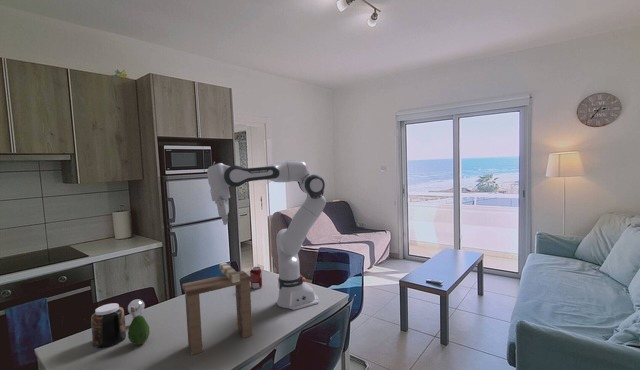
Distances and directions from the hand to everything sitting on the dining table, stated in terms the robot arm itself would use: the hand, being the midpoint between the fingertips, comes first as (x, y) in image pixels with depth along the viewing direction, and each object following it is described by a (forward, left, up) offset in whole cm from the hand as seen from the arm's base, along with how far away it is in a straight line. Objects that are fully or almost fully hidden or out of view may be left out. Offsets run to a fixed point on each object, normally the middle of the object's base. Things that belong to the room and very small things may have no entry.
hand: (226, 223), depth 156 cm
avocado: (+38, +15, -46) cm, 62 cm away
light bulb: (+43, -4, -46) cm, 63 cm away
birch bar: (0, +19, -20) cm, 28 cm away
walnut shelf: (+5, +24, -46) cm, 52 cm away
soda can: (-16, -28, -46) cm, 56 cm away
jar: (+51, +8, -46) cm, 69 cm away
